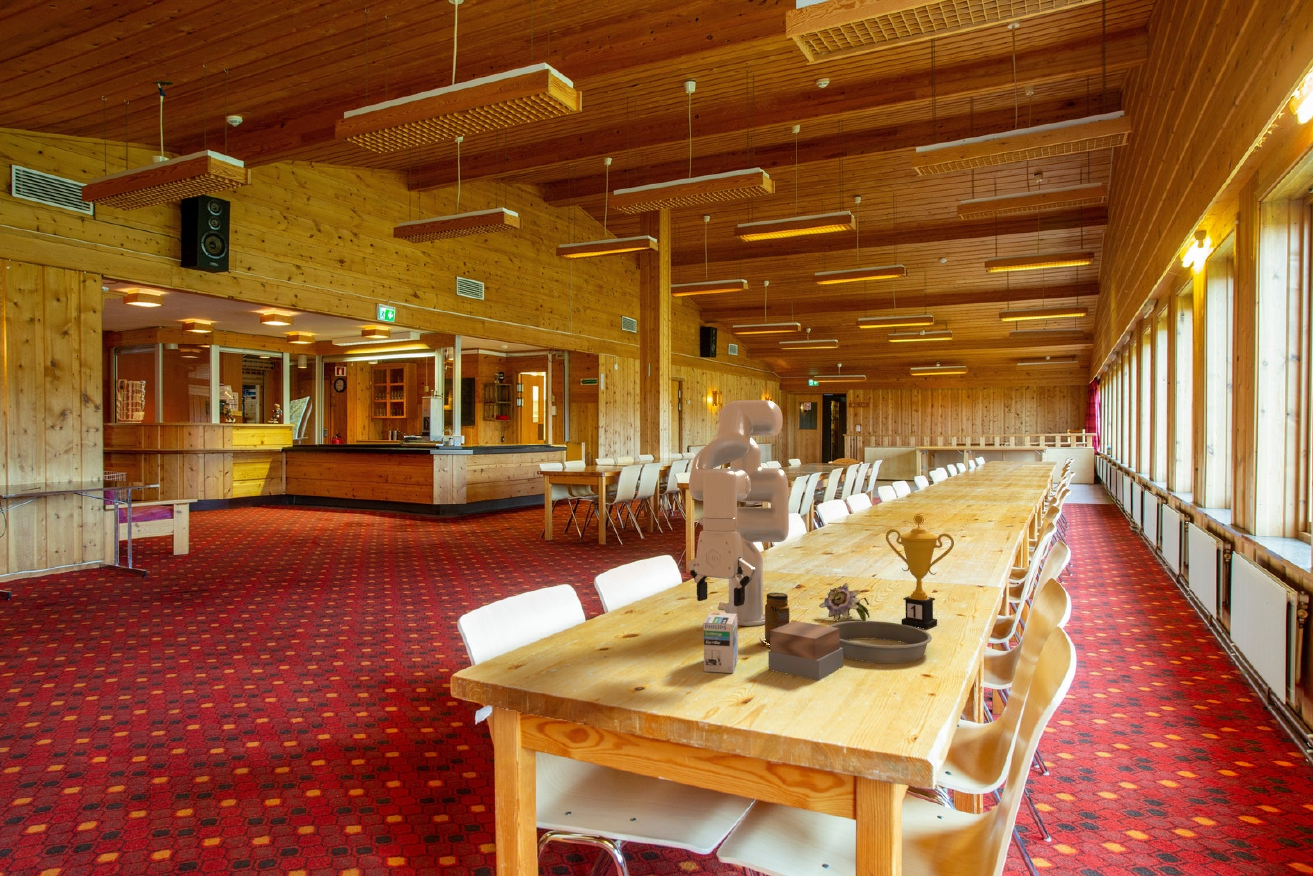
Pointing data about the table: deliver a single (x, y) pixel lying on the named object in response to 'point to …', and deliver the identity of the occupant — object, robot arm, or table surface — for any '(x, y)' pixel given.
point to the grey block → (806, 664)
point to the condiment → (775, 613)
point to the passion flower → (844, 603)
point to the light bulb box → (720, 642)
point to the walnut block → (804, 640)
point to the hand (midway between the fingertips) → (720, 602)
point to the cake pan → (882, 631)
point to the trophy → (919, 571)
